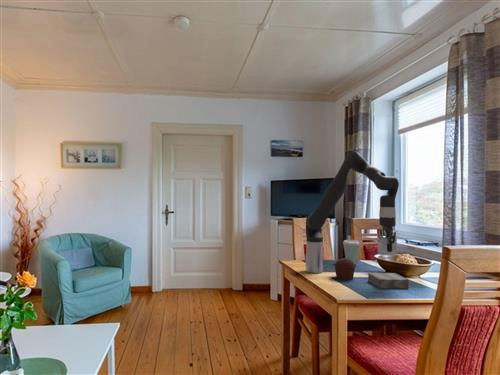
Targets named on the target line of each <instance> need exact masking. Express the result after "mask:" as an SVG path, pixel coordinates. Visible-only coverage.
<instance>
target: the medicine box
mask: <svg viewBox="0 0 500 375" xmlns="http://www.w3.org/2000/svg"><path fill="white" fill-rule="evenodd" d="M397 239H398V238H397V237H395V243H393V244H392V252H388V251H387V239H386V238H385V237H380V236H377V254H378V255H381V256H397V255H398V254H397V253H398V252H397V247H398V246H397V242H398V240H397Z"/></svg>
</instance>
